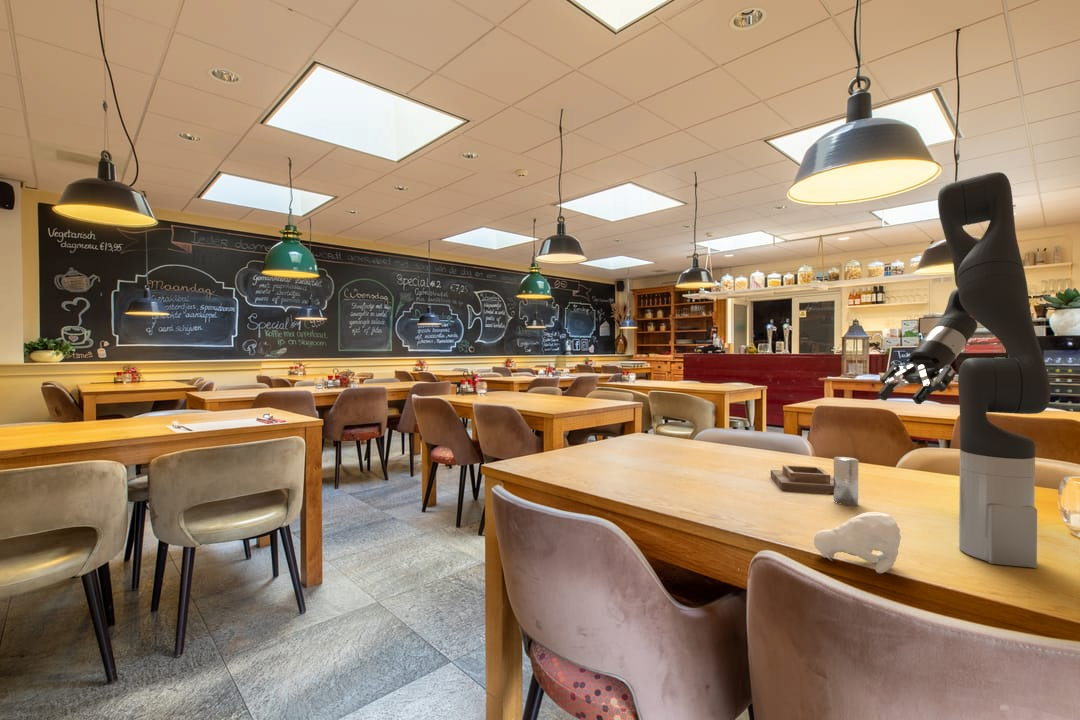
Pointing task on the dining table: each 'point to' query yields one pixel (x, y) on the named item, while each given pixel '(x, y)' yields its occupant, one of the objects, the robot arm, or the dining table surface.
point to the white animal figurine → (863, 539)
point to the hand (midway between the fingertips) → (898, 399)
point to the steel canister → (846, 480)
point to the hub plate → (803, 479)
